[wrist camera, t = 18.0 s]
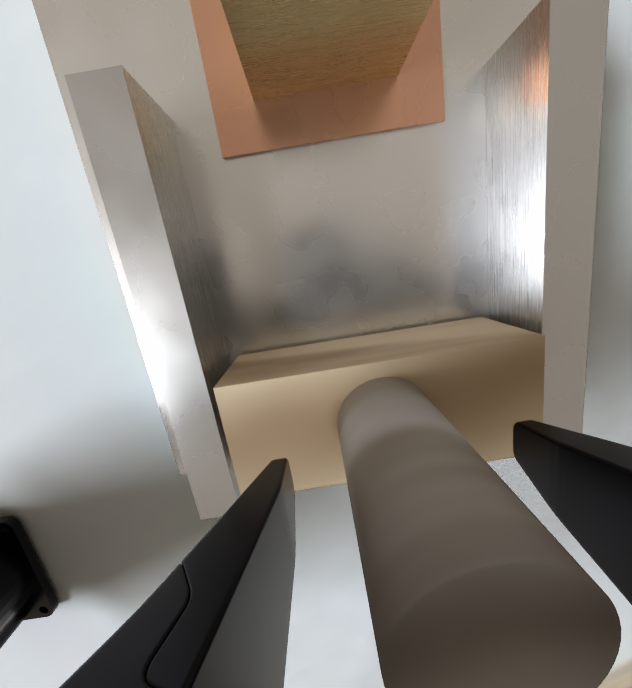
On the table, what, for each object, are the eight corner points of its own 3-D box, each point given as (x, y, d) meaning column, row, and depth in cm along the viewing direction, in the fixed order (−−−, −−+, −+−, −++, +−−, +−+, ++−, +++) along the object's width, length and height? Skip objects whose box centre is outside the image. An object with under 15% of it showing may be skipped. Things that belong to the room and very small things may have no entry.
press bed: (543, 400, 15) (635, 453, 11) (191, 455, 16) (147, 528, 11) (564, -403, 9) (803, -1026, 5) (-29, -289, 9) (-324, -775, 5)
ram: (483, 405, 13) (860, 707, 4) (258, 441, 14) (154, 806, 4) (481, 316, 12) (966, 458, 3) (238, 355, 13) (52, 595, 3)
